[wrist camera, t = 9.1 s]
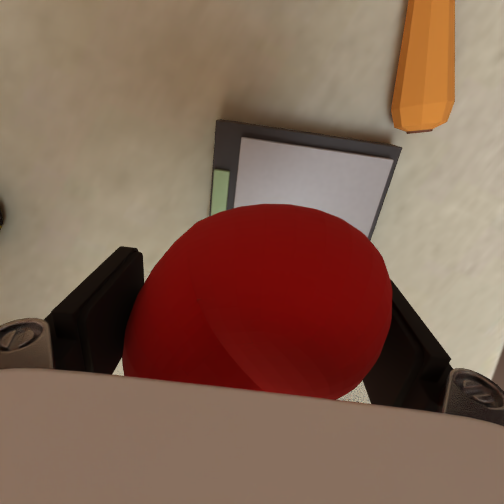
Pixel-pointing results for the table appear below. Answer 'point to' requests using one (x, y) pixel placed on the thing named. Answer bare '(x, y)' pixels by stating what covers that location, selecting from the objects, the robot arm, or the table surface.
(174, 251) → the red rounded piece
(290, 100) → the table surface
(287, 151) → the scale
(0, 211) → the tape measure
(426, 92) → the carrot
